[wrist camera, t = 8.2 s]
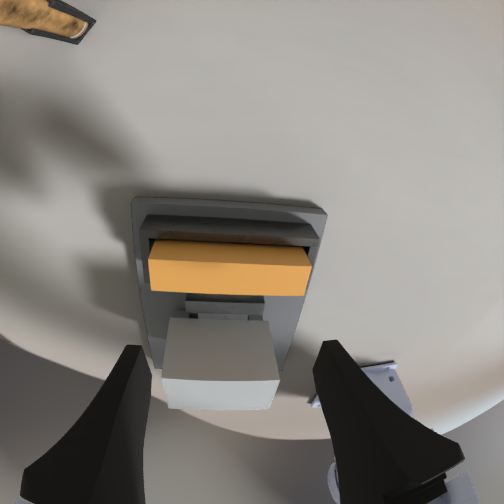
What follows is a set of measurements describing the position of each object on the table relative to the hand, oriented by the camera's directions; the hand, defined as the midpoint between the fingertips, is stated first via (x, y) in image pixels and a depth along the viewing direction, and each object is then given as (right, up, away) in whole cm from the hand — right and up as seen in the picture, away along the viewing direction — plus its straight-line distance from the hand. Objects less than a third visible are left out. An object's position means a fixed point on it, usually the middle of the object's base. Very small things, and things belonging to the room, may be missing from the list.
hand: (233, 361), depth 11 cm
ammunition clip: (-13, +20, -2) cm, 24 cm away
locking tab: (-1, +4, +6) cm, 7 cm away
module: (-2, -2, +11) cm, 11 cm away
